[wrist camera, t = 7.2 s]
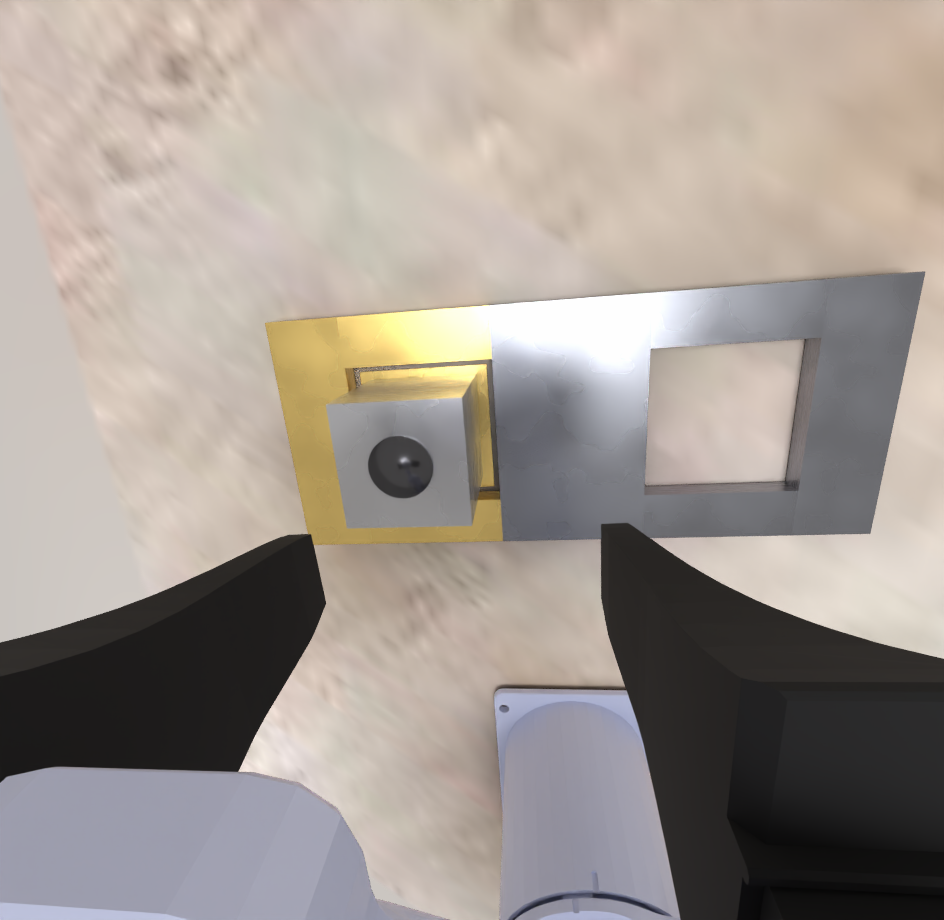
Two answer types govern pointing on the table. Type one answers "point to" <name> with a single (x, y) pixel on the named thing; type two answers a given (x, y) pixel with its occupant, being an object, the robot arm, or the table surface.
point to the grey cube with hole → (408, 451)
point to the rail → (616, 406)
